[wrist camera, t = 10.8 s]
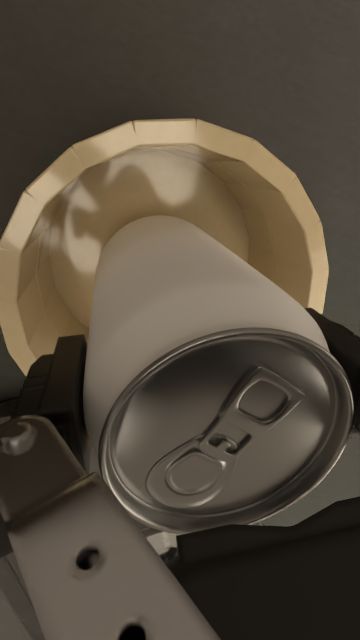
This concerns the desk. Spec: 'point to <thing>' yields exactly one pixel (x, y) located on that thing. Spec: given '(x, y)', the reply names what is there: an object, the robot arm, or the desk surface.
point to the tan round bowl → (142, 201)
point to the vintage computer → (8, 584)
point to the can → (205, 383)
